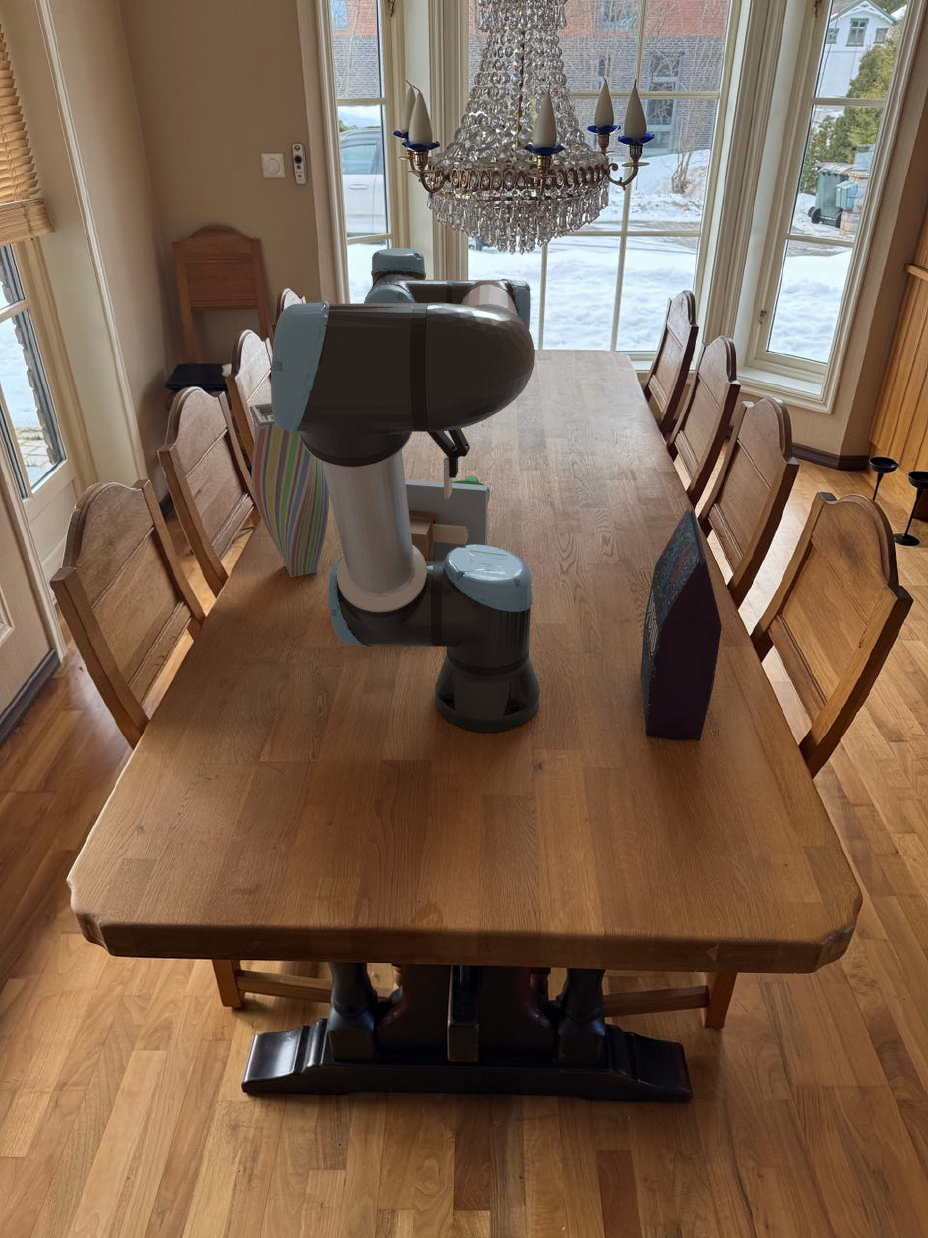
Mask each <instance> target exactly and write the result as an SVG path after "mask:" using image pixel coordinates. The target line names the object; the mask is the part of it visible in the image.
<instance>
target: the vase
mask: <svg viewBox="0 0 928 1238" xmlns="http://www.w3.org/2000/svg"><path fill="white" fill-rule="evenodd" d="M248 409H249V411H250V414H251V418H252V422H253V428H254V429H253V430H254V431H253V432H254V443H253V453H252V463H251V487H252V493H253V497H254V501H255V502H254V503H255V504H256V508H257V511H258V513H259V515H260V516H259V517H260V518H261V520H262V522H263V524H264V527H265V529H266V530H267V533H268V534H269V536H270V538H271V540H272V541H273V543H274V545H275V547H276V549H277V551H278V552H279V554H280V556H281V558H282V560H283V563H284V565H285V568H286V570H287V573H288V575H289V577H290V578H295V577H300V576H303V575H304V576H305V575H311V574H316V573H318V570H319V563H320V559H321V555H322V551H323V547H324V542H325V538H326V532H327V528H328V527H327V525H328V519H329V509H330V494H329V490H328V486H327V482H326V477H325V473H324V469H323V465H322V462H321V461H319V460H318V459H316V458H315V457H314V456H312V455H311V454H310V453H309V452H308V451H307V449H306V448H305V446H304V444H303V442H302V440H301V437H300V433H299V431H296V432H294V433H290V432H288V431H286V430H280V429H279V428H278V427H277V426H276V425H275V423H274V419H273V413H272V403H271V402H265V403H258V404H257V403H256V404H250V406H248Z"/></svg>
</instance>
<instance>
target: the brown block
mask: <svg viewBox="0 0 928 1238" xmlns="http://www.w3.org/2000/svg"><path fill="white" fill-rule="evenodd" d="M409 519H410V528H411V537H412V544H413V545H414V546H415V547H416V548H417V549H418V550H419V551H420V552H421V554H422V556H423V557H424V560H425V561H435V557H434V554H433V525H432V524H436V513H432V512H420V511H409Z"/></svg>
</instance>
